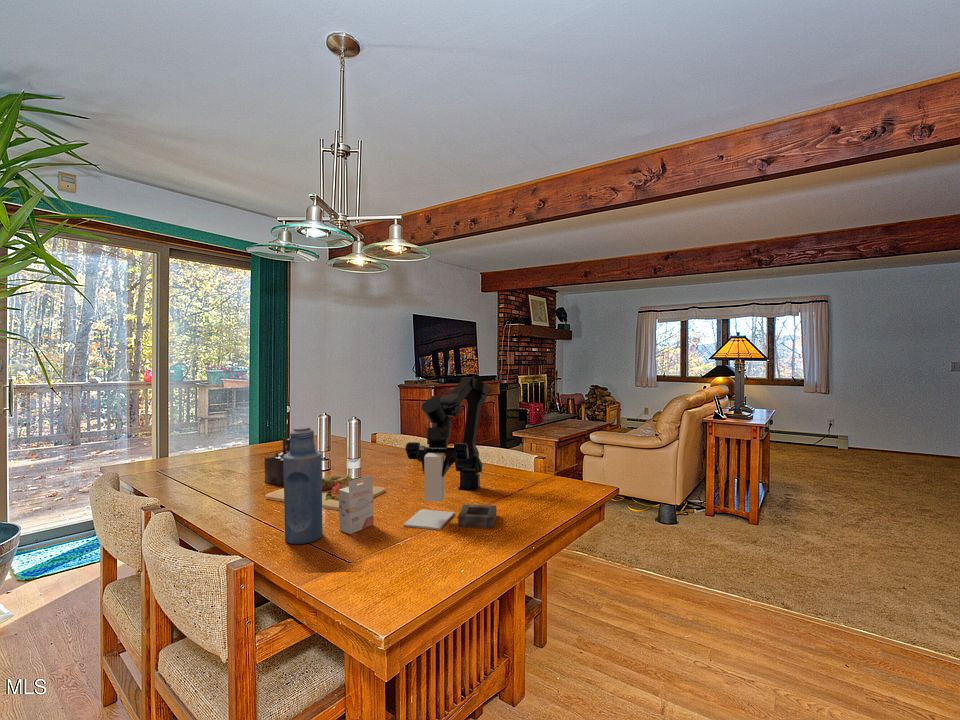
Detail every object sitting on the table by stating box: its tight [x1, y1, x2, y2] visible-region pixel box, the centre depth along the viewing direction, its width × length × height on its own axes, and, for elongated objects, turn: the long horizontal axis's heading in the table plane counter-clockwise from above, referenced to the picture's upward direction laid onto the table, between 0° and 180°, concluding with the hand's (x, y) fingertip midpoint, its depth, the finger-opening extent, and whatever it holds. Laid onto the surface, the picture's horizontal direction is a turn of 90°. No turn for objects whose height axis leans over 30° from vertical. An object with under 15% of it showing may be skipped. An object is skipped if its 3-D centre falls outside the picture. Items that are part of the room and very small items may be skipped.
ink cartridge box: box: [338, 474, 374, 535], centre depth 132 cm, size 9×5×15 cm, turn 143°
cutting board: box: [264, 474, 386, 512], centre depth 163 cm, size 35×23×8 cm
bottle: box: [283, 426, 324, 546], centre depth 125 cm, size 10×10×30 cm
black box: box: [264, 437, 291, 486], centre depth 179 cm, size 16×11×18 cm
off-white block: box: [423, 453, 445, 502], centre depth 138 cm, size 5×5×13 cm
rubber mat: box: [403, 508, 455, 531], centre depth 138 cm, size 11×13×1 cm
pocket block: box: [457, 504, 497, 529], centre depth 137 cm, size 10×10×3 cm
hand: (433, 475), depth 136 cm, fingers closed on off-white block, 5 cm apart
